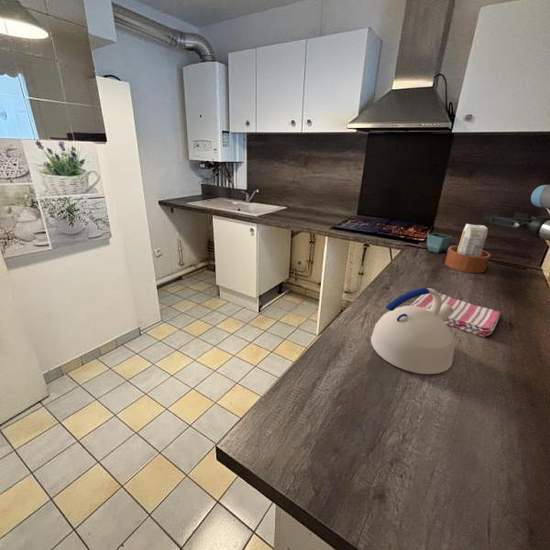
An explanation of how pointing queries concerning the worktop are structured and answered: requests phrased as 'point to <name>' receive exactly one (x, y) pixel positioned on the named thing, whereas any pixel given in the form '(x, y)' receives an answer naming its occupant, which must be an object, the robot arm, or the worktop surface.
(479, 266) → the pot
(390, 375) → the worktop surface
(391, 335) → the kettle
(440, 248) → the flower pot
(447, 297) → the dish towel
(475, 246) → the juice carton
